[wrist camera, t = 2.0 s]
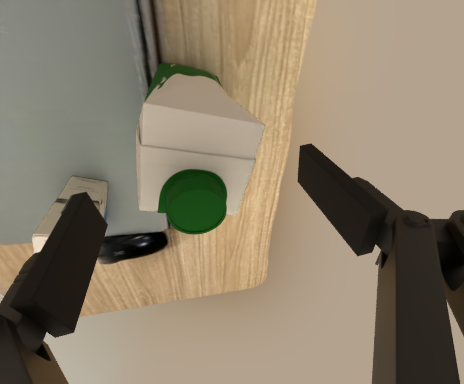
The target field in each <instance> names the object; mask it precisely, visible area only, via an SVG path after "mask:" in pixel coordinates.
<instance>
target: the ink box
mask: <svg viewBox="0 0 464 384" xmlns="http://www.w3.org/2000/svg"><path fill="white" fill-rule="evenodd" d="M107 187H108V183H107V182H106V181H99V180H93V179H87V178H81V177H74V176H72V177H71V178H70V180H69V181H68V183H67V184H66V186H65V187H64V189H63V190H62V192H61V193H60V195H59V196H58V198H57V199H56V201H55V202H54V204H53V205H52V207H51V208H50V210H49V211H48V213H47V214H46V216H45V217H44V219H43V220H42V222H41V223H40V225H39V226H38V228H37V229H36V231H35V232H34V234H33V238H32V242H33V250H34V253H37V252H40V251H41V249H42V247H43V246H44V244H45V242H46V241H47V239H48V237H49V235H50V234H51V232H52V230H53V228H54V227H55V225H56V223H57V221H58V220H59V218H60V216H61V214H62V213H63V211H64V209H65V207H66V206H67V204H68V202H69V201H70V199H71V197H72V195H73V194H78V193H82V192H87V193H88V195H89V196H90V198H91V199H92V201H93V202H94V204H95V206H96V207H97V209H98V210H99V212H100V213H101V215H102V217H103V218H104V220H105V219H106V203H107Z"/></svg>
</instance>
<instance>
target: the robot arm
mask: <svg viewBox="0 0 464 384" xmlns="http://www.w3.org/2000/svg"><path fill="white" fill-rule="evenodd" d="M299 153H300V154H299V168H298V182H299V184H300V185H301V186H302V187H303V189H304V190H305V191H306V192H307V194H308V195H309V196H310V197H311V199H312V200H313V201H314V202H315V203H316V205H317V206H318V207H319V209H320V210H321V211H322V212H323V214H324V215H325V216H326V217H327V219H328V220H329V221H330V222H331V224H332V225H333V226H334V227H335V229H336V230H337V231H338V232H339V234H340V235H341V236H342V237H343V239H344V240H345V241H346V242H347V243H348V245H349V246H350V247H351V248H352V250H353V251H354V252H355V254H356V255H357V256H360V255H364V254H368V253H372V251H373V249H374V247H375V244H376V245H377V246H378V247H379V248H380V249H381V252H380V254H379V256H378V259H377V261H376V265H378V264H379V269H378V287H377V304H376V306H377V307H376V321H375V338H374V357H373V374H372V384H460V380H459V374H458V368H457V362H456V356H455V350H454V344H453V338H452V332H451V326H450V320H449V314H448V308H447V302H448V304H449V306H450V308H451V310H452V312H453V314H454V317H455V319H456V321H457V323H458V325H459V327H460V329H461V332H462V334H463V336H464V210H458V211H455V212H453V213H452V215H451V216H450V218H449V219H429V218H428V217H427V216H425V215H423V214H421V213H419V212H416V211H410V210H403V209H402V208H400V207H399V206H398V205H396V204H395V203H394V202H393V201H392V200H390V199H389V198H388V197H387V196H385V195H384V194H383V193H381V192H380V191H379V190H378V189H377V188H375V187H374V186H373V185H372V184H370V183H369V182H368V181H366V180H363V179H361V178H359V177H356V178H351V177H350V176H349V175H347V174H346V173H345V172H344V171H343V170H342V169H340V168H339V167H338V166H337V165H335V163H333V162H332V161H331V160H330V159H329V158H328V157H326V156H325V155H324V154H323V153H322V152H321V151H319V150H318V149H317V148H316V147H315V146H314V145H312V144H307V145H302V146H300V152H299ZM107 226H108V224H107V223H106V221H105V220H104V218H103V217H102V215H101V213H100V212H99V210H98V209H97V207H96V206H95V204H94V202H93V201H92V199H91V198H90V196H89V195H88V193H87V192H82V193H78V194H73V195H72V197H71V199H70V201H69V202H68V204H67V206H66V207H65V209H64V211H63V213H62V214H61V216H60V218H59V220H58V221H57V223H56V225H55V227H54V228H53V230H52V232H51V234H50V235H49V237H48V239H47V241H46V242H45V244H44V246H43V247H42V249H41V251H40V252H37V253H34V254H33V255H32V256H31V257H30V258H29V259H28V260H27V261H26V262H25V264H24V265H23V267H22V268H21V270H20V272H19V275H17V277H16V278H15V280H14V284H12V285H11V286H10V288H9V290H8V291H7V293H6V295H5V296H4V298H3V300H2V301H1V303H0V384H68V382H67V380H66V378H65V376H64V374H63V372H62V371H61V369H60V367H59V365H58V363H57V361H56V359H55V358H54V356H53V354H52V352H51V350H50V348H49V346H48V345H47V344H46V343H45V342H44V341H43V339H44V337H45V334H46V332H48V333H49V334H51V335H52V336H54V337H55V338H56V337H59V336H63V335H67V334H70V333H73V332H74V330H75V328H76V324H77V321H78V318H79V315H80V312H81V308H82V305H83V302H84V299H85V296H86V293H87V289H88V286H89V283H90V280H91V277H92V274H93V270H94V267H95V264H96V261H97V258H98V255H99V251H100V248H101V245H102V242H103V239H104V235H105V232H106V229H107ZM446 299H447V302H446Z"/></svg>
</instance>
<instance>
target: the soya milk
mask: <svg viewBox="0 0 464 384" xmlns="http://www.w3.org/2000/svg"><path fill="white" fill-rule="evenodd" d="M264 129H265V124H263V123H262V122H261V121H259V120H258V119H257V118H256V117H254V116H253V115H252V114H250V113H249V112H248V111H247V110H245V109H244V108H243V107H242V106H240V105H239V104H238V103H237V102H235V101H234V100H233V99H232V98H230V97H229V96H228V95H227V93H226V92H225V91H224V89H223V88H222V87H221V85H220V82H219V79H218V77H217V76H215V75H213V74H212V73H210V72H207V71H204V70H200V69H196V68H192V67H187V66H183V65H178V64H166V63H160V64H159V67H158V69H157V71H156V74H155V76H154V78H153V81H152V83H151V85H150V88H149V90H148V93H147V96H146V99H145V102H144V103H143V106H142V111H141V114H140V119H139V137H138V123H137V127H136V148H137V149H136V165H137V188H138V200H139V209H140V210H141V211H158V213H167V219H168V221H169V223H170V224H171V225H172V226H173V227H174V228H175V229H176V230H178V231H180V232H183V233H186V234H202V233H206V232H209V231H211V230H213V229H215V228H216V227H217V226H219V225H220V224H221V223H222V221H223V220H224V218H225V216H226V215H236V214H237V212H238V209H239V206H240V204H241V201H242V198H243V195H244V192H245V189H246V186H247V184H248V181H249V178H250V175H251V173H252V171H253V168H254V165H255V162H256V158H255V156H256V153H257V150H258V147H259V144H260V141H261V138H262V135H263V132H264Z"/></svg>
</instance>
